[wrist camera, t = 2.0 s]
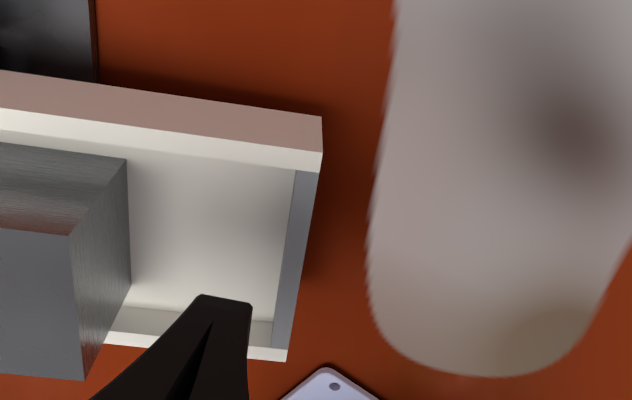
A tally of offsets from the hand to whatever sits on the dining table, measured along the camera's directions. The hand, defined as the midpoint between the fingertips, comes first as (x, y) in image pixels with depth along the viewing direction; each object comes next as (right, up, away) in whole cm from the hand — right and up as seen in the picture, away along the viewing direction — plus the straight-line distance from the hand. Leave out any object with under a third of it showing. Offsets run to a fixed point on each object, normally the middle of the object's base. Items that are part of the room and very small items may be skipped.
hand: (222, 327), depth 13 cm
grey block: (-6, +3, +3) cm, 7 cm away
